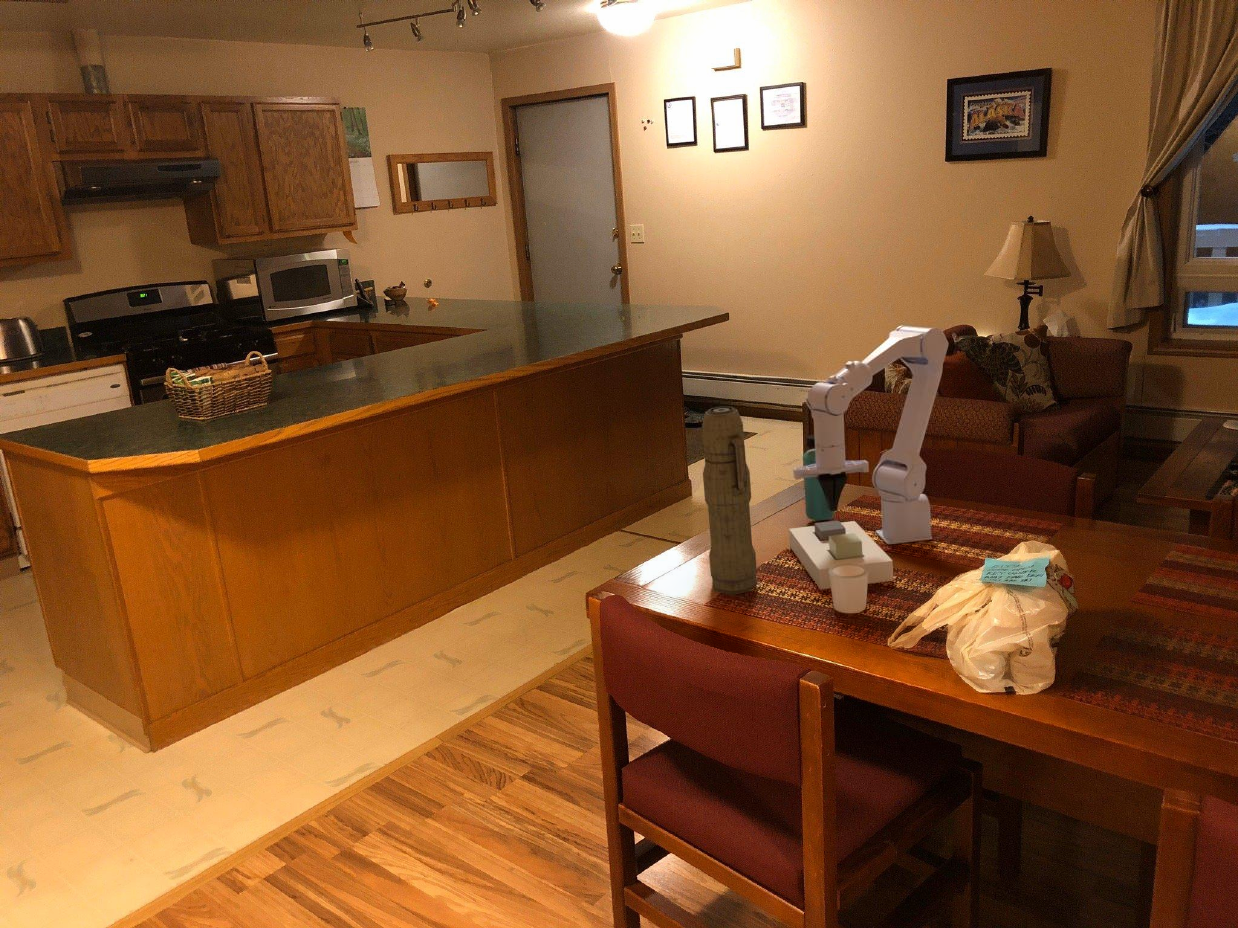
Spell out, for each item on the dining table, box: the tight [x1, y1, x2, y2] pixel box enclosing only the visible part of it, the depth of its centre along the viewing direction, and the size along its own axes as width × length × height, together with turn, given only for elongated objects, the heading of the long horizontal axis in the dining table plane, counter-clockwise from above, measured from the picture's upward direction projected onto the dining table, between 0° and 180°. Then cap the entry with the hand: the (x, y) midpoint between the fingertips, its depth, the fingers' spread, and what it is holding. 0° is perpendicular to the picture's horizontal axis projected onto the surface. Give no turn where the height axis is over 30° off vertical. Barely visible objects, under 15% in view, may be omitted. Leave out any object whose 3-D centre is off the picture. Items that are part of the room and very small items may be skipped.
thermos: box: [701, 406, 758, 595], centre depth 185 cm, size 9×12×35 cm
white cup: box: [829, 564, 868, 614], centre depth 174 cm, size 7×7×7 cm
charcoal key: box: [814, 520, 846, 541], centre depth 199 cm, size 5×5×3 cm
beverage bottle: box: [802, 434, 836, 521], centre depth 217 cm, size 6×7×20 cm
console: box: [788, 520, 894, 590], centre depth 195 cm, size 14×24×4 cm, turn 4°
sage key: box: [829, 533, 862, 559], centre depth 188 cm, size 5×5×3 cm
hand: (832, 509), depth 195 cm, fingers closed
